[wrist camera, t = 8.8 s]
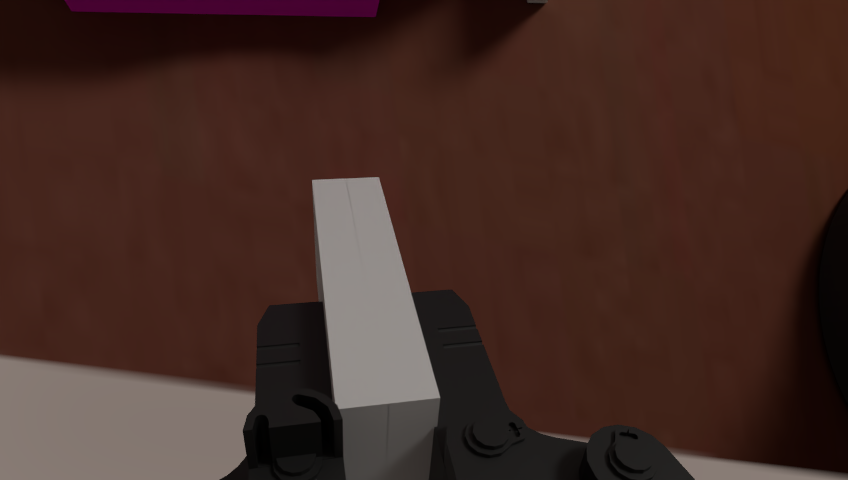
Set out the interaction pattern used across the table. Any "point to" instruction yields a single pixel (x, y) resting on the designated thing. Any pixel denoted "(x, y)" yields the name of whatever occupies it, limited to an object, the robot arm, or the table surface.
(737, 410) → the table surface
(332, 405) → the robot arm
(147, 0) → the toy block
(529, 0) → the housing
